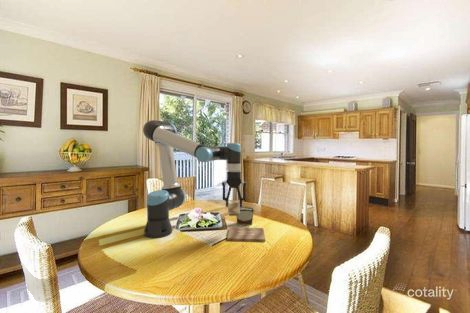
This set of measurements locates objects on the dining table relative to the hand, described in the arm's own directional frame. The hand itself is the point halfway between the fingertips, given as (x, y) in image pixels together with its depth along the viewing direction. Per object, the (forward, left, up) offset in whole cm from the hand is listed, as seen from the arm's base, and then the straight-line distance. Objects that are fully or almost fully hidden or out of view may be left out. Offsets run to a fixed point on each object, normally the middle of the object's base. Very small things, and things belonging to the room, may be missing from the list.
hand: (234, 212), depth 133 cm
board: (+7, 0, -13) cm, 15 cm away
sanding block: (0, 0, 0) cm, 0 cm away
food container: (+6, +20, -13) cm, 25 cm away
